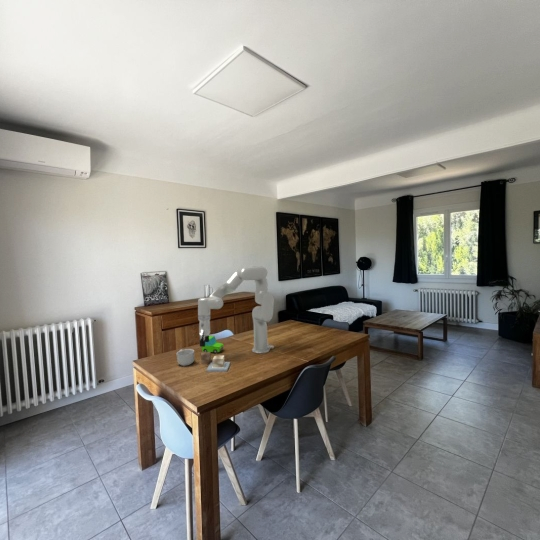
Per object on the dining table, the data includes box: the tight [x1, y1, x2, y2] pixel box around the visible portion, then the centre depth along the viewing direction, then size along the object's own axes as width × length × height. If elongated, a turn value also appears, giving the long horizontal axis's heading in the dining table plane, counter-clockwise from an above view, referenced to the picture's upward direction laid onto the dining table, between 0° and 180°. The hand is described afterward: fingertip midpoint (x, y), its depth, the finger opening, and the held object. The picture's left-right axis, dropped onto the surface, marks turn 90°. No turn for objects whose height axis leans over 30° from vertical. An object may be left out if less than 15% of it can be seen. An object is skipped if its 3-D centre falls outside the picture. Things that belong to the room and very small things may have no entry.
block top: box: [200, 351, 212, 365], centre depth 179 cm, size 5×5×6 cm
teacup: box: [175, 348, 196, 367], centre depth 178 cm, size 14×11×8 cm
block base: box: [212, 355, 226, 367], centre depth 170 cm, size 6×6×5 cm
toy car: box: [201, 335, 225, 355], centre depth 200 cm, size 10×13×10 cm
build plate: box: [206, 361, 231, 373], centre depth 170 cm, size 12×12×1 cm
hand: (204, 344), depth 178 cm, fingers open, 9 cm apart
